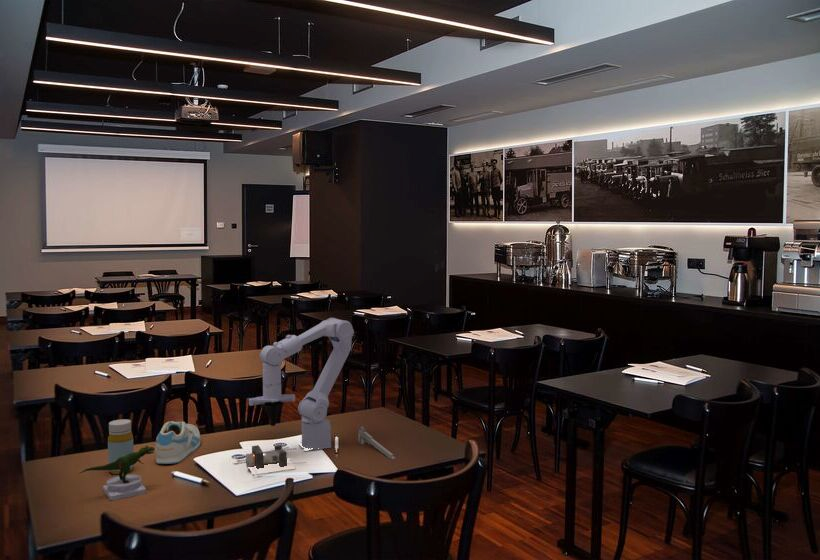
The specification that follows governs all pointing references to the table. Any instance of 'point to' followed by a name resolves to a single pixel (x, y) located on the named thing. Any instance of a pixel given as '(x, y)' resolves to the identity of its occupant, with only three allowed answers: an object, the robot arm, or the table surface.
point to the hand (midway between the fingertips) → (272, 425)
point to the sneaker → (176, 442)
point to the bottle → (119, 441)
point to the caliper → (372, 442)
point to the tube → (268, 458)
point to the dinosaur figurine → (124, 476)
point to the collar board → (259, 456)
